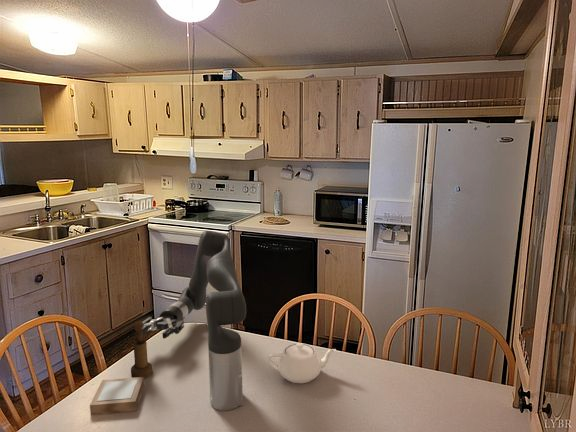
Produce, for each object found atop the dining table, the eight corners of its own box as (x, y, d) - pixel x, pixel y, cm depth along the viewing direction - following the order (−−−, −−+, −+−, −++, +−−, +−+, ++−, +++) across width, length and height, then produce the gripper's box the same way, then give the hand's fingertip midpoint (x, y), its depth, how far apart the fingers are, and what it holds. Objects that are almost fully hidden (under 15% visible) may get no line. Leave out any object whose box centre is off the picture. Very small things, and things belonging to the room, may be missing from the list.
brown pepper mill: (156, 368, 137) (152, 317, 134) (147, 380, 131) (143, 326, 127) (136, 367, 138) (132, 316, 134) (127, 378, 131) (123, 325, 128)
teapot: (268, 389, 126) (267, 356, 124) (267, 364, 140) (266, 335, 138) (339, 386, 128) (340, 354, 126) (331, 362, 141) (332, 333, 139)
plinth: (144, 385, 128) (143, 376, 127) (136, 410, 116) (135, 400, 116) (103, 389, 126) (102, 379, 125) (90, 415, 114) (89, 404, 114)
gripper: (156, 303, 156) (131, 322, 140) (191, 306, 153) (170, 326, 137) (157, 322, 157) (133, 343, 141) (192, 326, 154) (172, 347, 139)
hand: (151, 334), depth 139 cm, fingers open, 8 cm apart
